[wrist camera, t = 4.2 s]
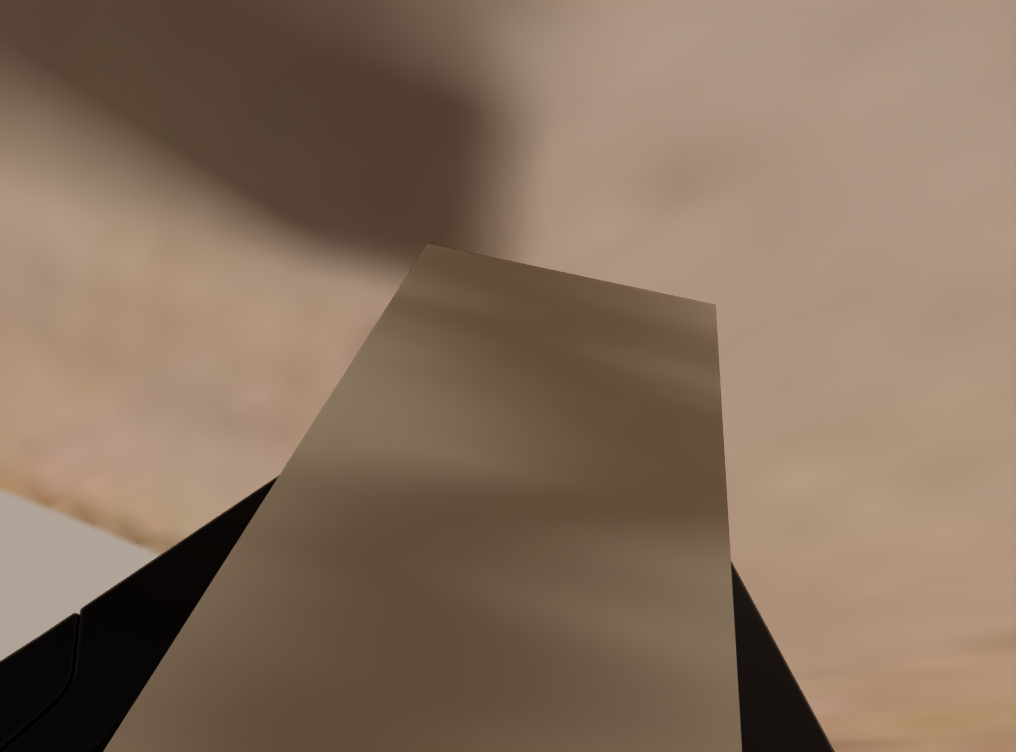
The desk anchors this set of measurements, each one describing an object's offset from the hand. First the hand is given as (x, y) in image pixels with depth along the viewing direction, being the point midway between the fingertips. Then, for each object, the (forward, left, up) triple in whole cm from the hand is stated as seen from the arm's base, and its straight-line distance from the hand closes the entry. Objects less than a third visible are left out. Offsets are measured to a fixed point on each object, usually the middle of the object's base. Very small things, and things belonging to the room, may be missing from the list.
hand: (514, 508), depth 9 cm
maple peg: (0, 0, -3) cm, 3 cm away
